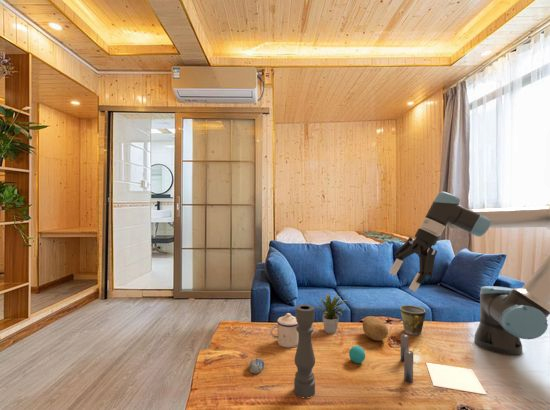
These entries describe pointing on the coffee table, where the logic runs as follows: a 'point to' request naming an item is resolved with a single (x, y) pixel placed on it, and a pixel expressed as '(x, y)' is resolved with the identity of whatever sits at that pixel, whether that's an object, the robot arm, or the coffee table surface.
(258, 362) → the decorative stone
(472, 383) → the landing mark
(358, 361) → the ball
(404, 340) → the post
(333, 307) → the house plant
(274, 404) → the coffee table surface
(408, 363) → the post
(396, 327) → the coffee table surface
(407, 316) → the ceramic cup
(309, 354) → the candle holder
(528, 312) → the robot arm
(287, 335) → the teacup with lid
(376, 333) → the potato
